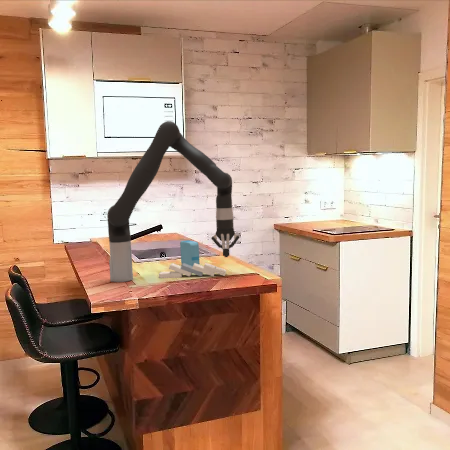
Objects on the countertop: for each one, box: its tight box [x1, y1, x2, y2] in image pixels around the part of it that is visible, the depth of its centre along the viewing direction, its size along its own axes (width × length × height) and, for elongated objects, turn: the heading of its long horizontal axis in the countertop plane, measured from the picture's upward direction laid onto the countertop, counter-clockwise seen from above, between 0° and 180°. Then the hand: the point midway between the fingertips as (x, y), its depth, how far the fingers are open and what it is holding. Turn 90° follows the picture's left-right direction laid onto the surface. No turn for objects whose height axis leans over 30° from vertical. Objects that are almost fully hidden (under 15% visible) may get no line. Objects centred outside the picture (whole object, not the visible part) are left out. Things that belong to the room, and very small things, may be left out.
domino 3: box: [180, 263, 204, 277], centre depth 225 cm, size 2×5×10 cm
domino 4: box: [192, 263, 216, 277], centre depth 225 cm, size 2×5×10 cm
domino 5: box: [203, 262, 227, 277], centre depth 225 cm, size 2×5×10 cm
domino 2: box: [168, 262, 193, 278], centre depth 226 cm, size 2×5×10 cm
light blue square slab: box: [179, 240, 201, 266], centre depth 251 cm, size 12×4×12 cm, turn 30°
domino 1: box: [158, 270, 184, 279], centre depth 226 cm, size 2×5×10 cm
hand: (226, 257), depth 224 cm, fingers closed
